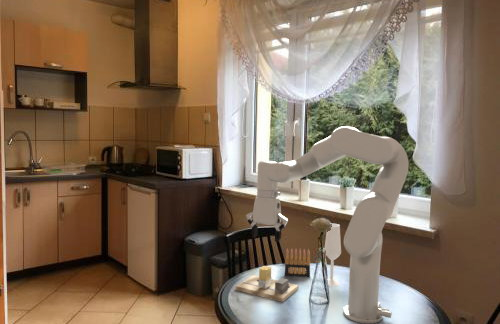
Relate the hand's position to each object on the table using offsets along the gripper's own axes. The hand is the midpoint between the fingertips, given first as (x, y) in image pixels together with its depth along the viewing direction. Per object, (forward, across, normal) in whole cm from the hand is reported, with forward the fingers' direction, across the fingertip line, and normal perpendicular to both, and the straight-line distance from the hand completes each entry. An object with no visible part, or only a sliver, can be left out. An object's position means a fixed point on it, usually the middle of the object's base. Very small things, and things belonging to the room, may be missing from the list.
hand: (266, 238), depth 149 cm
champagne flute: (+20, -19, -22) cm, 36 cm away
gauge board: (+20, 0, -2) cm, 20 cm away
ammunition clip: (+21, -4, -22) cm, 30 cm away
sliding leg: (+18, 0, -2) cm, 18 cm away
